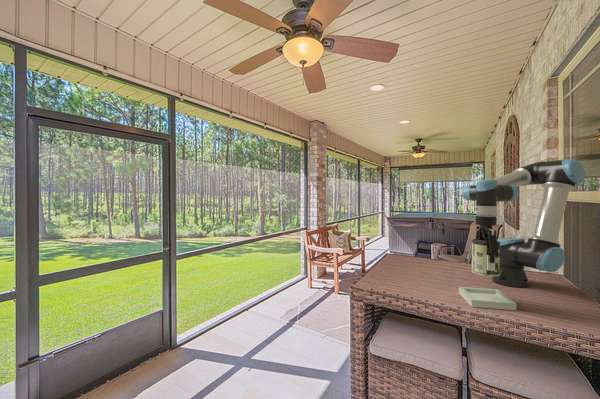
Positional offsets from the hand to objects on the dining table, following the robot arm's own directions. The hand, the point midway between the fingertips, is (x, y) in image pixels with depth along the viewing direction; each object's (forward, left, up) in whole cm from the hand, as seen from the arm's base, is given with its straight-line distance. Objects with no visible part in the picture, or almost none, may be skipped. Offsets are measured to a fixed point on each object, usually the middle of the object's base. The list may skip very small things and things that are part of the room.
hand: (485, 266), depth 119 cm
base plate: (0, 0, -15) cm, 15 cm away
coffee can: (0, 0, -3) cm, 3 cm away
